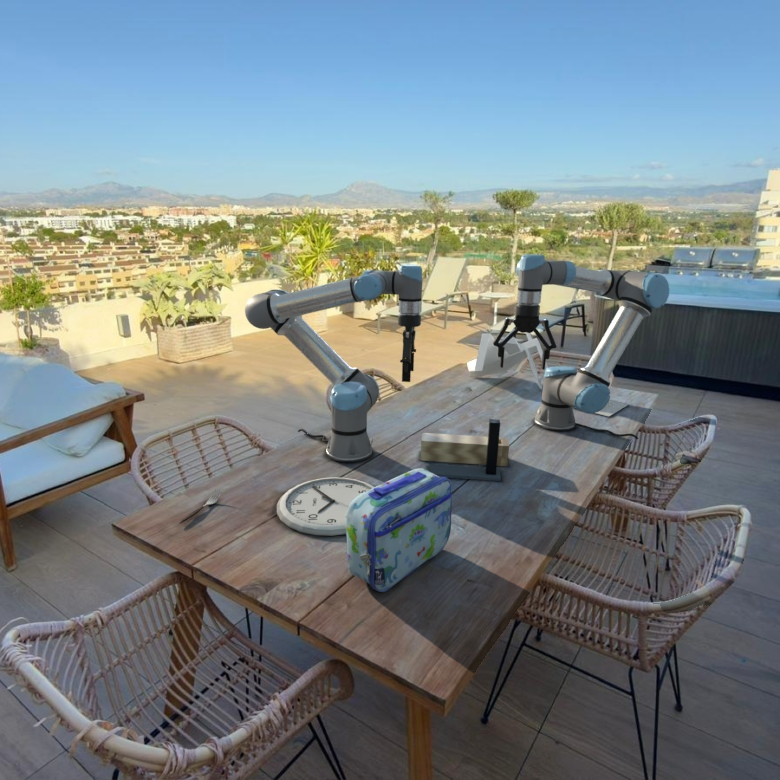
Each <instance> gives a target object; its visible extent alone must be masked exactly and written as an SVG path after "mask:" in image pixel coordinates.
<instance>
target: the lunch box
mask: <svg viewBox="0 0 780 780" xmlns="http://www.w3.org/2000/svg"><path fill="white" fill-rule="evenodd" d="M374 487H375V488H373V489H370V490H368V491H366V492H364V493H362V494H360V495H358V496H357V497H356V498H354V500H353V501H352V502H351V504H350V505H349V507H348V510H347V515H346V534H345V535H346V559H347V561H346V562H347V567H348V571H349V573H350V574H351V575H353V576H354V577H357V578H358V579H361V580H362V581H364V582H365V583H366V584H368V585H370V587H371V588H372V589H373V590H375V591H377V592H379V593H385V592H387V591H389V590H390V589H392V588H393V587H394V586H395V585H396V584H397V583H399V582H401V581H402V580H403V579H404V578H406V577H408V576H409V575H411V573H413V572H414V571H415V570H417V569H418V568H419V567H420V566H422V564H424V563H426V562H428V560H431V559H433V558H435V557H436V556H437V555H438V554H440V553H441V552H442V551H443V550H444V549H445V547H446V546H447V543H448V541H449V539H450V536H451V531H452V511H453V510H452V509H453V508H452V507H453V504H452V503H453V501H452V500H453V499H452V483H451V480H450V479H449V478H448V477H439V476H437V475H435V474H433V473H431V472H429V470H428V469H426V468H423V467H421V468H419V467H418V468H414V469H412V470H409V471H406V472H405V473H403V474H400V475H398V476H396V477H394V478H391V479H390V480H387V481H385V482H383V483H381V484H378V485H376V486H374Z"/></svg>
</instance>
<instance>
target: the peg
mask: <svg viewBox="0 0 780 780" xmlns="http://www.w3.org/2000/svg"><path fill="white" fill-rule="evenodd" d="M500 430H501V421H500V419H497V418H495V419H494V418H489V421H488V433H487V437H488V444H487V457H486V465H485V467H486V474H490V475H496V468H498V466H497V456H498V444H499V437H500V432H501V431H500Z"/></svg>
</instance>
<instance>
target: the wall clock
mask: <svg viewBox="0 0 780 780" xmlns="http://www.w3.org/2000/svg"><path fill="white" fill-rule="evenodd" d="M375 487H376V486H374V485H372V484H371V483H369V482H365V481H362V480H359V479H355V478H349V477H338V476H337V477H335V476H333V477H332V476H331V477H322V478H317V479H312V480H307V481H305V482H302V483H299V484H297V485H295V486H293V487H292V488H290V489H288V490H287V491H286V492H285V493H284V494H283V495H281V496H280V498H279V499H278V502H277V503H276V515H277V517H278V518H279V520H280V521H281V522H282V523H283V524H285V525H286V526H287V527H288V528H290V529H293V530H295V531H297V532H299V533H303V534H308V535H312V536H327V537H328V536H329V537H331V536H332V537H333V536H342V535H346V515H347V510H348V507H349V505H350V504H351V502H352V501H353V500H354V498H356V497H357V496H358V495H360V494H362V493H364V492H366V491H368V490H370V489H373V488H375Z"/></svg>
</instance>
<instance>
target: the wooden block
mask: <svg viewBox="0 0 780 780" xmlns="http://www.w3.org/2000/svg"><path fill="white" fill-rule="evenodd" d="M420 442H421V443H420V461H421V462H422V461H424V462H437V463H439V462H440V463H452V464H453V463H455V464H469V465H470V464H471V465H484V466H486V457H487V444H488V436H485V435H484V436H481V435H468V434H467V435H465V434H449V433H435V432H433V433H431V432H422V434H421V440H420ZM509 451H510V445H509V440H508V437H500V436H499V444H498V456H497V467H499V466H500V467H508V462H509V454H510V453H509Z"/></svg>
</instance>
